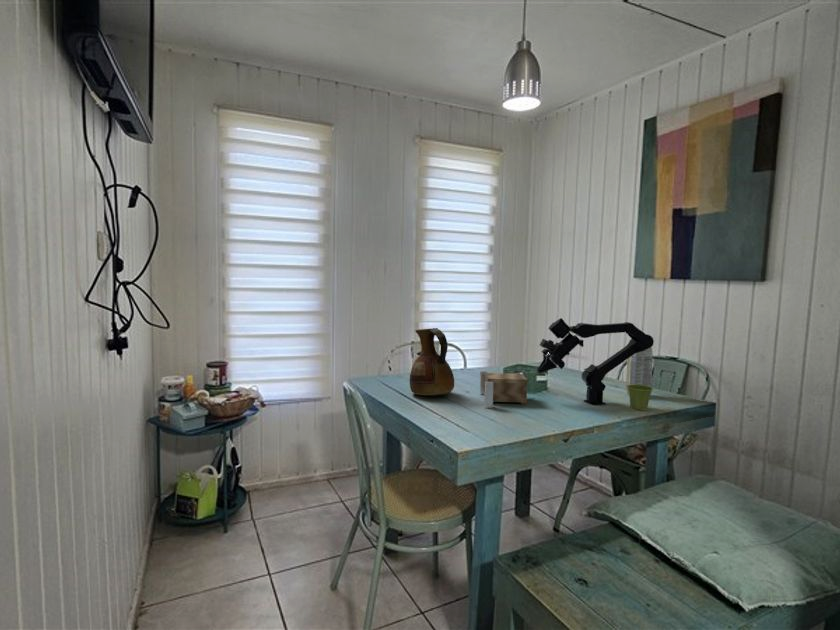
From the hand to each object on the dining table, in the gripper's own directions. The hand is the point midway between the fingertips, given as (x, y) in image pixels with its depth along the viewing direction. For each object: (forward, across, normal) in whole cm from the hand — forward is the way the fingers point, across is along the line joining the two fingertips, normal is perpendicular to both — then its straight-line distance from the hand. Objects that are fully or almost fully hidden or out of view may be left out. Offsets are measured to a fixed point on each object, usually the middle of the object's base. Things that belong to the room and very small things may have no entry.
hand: (538, 371), depth 196 cm
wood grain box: (+18, 0, -1) cm, 19 cm away
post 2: (+24, +11, -6) cm, 27 cm away
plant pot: (-19, +7, +37) cm, 42 cm away
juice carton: (-24, -14, +43) cm, 51 cm away
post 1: (+24, -11, -6) cm, 27 cm away
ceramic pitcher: (+41, -7, -23) cm, 47 cm away
